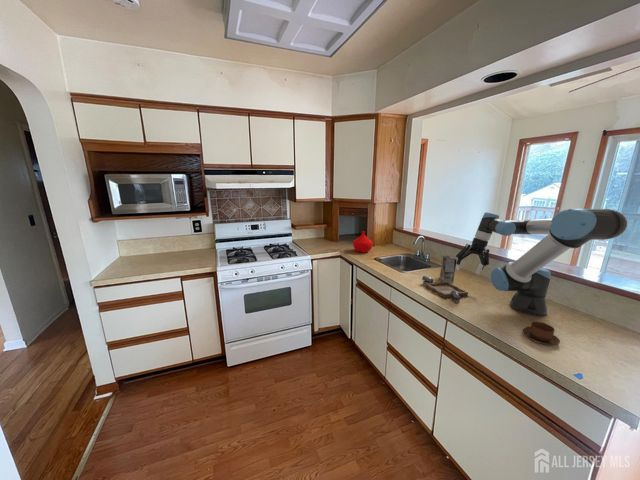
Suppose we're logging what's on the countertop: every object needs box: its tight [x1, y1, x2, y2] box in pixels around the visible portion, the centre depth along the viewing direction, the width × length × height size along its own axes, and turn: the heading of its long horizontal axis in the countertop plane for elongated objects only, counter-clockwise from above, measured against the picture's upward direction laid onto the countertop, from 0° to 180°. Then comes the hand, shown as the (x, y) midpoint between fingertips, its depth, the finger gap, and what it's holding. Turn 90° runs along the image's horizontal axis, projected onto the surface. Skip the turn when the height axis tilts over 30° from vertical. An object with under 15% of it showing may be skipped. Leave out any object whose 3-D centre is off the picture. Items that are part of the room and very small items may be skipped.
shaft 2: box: [450, 291, 462, 304], centre depth 138 cm, size 6×3×5 cm, turn 174°
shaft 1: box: [421, 275, 434, 286], centre depth 160 cm, size 6×3×5 cm, turn 35°
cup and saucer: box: [522, 321, 561, 346], centre depth 105 cm, size 12×12×6 cm
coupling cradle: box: [425, 281, 469, 300], centre depth 151 cm, size 16×16×2 cm
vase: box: [352, 230, 374, 254], centre depth 234 cm, size 18×18×19 cm
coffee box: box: [439, 255, 458, 284], centre depth 168 cm, size 9×6×16 cm
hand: (467, 272), depth 151 cm, fingers open, 13 cm apart
